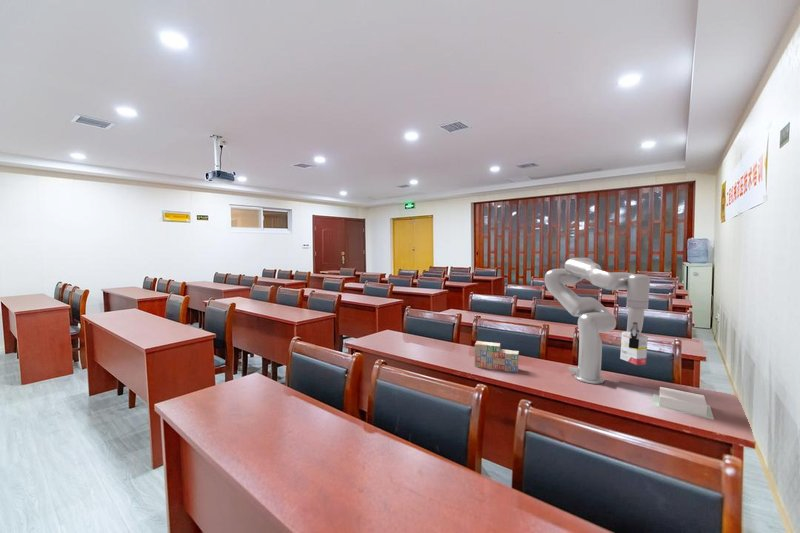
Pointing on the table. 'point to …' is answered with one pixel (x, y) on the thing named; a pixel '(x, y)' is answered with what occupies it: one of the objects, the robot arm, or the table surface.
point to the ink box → (634, 354)
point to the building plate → (656, 404)
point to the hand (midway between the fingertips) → (634, 345)
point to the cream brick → (683, 401)
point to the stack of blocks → (495, 357)
